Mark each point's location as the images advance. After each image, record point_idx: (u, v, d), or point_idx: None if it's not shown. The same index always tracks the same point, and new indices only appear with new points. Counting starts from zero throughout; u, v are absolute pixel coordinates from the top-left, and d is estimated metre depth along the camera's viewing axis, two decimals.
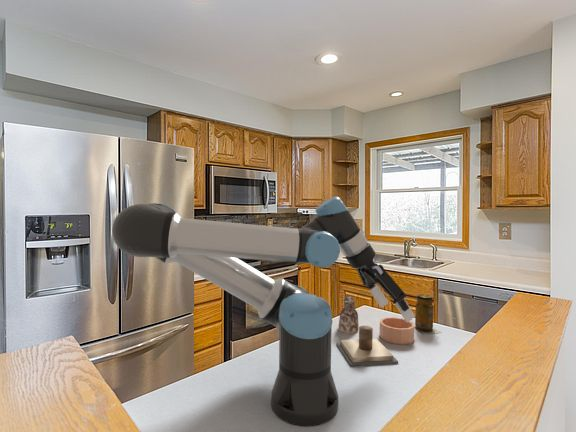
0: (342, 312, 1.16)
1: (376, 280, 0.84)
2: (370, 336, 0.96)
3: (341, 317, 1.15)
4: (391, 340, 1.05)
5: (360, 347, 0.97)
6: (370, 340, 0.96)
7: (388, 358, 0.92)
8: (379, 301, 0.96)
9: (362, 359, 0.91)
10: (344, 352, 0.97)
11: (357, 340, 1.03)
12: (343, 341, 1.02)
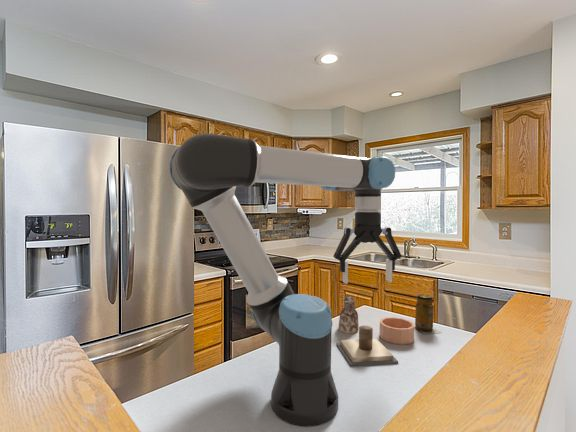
0: (342, 312, 1.16)
1: None
2: (370, 336, 0.96)
3: (341, 317, 1.15)
4: (391, 340, 1.05)
5: (360, 347, 0.97)
6: (370, 340, 0.96)
7: (388, 358, 0.92)
8: None
9: (362, 359, 0.91)
10: (344, 352, 0.97)
11: (357, 340, 1.03)
12: (343, 341, 1.02)
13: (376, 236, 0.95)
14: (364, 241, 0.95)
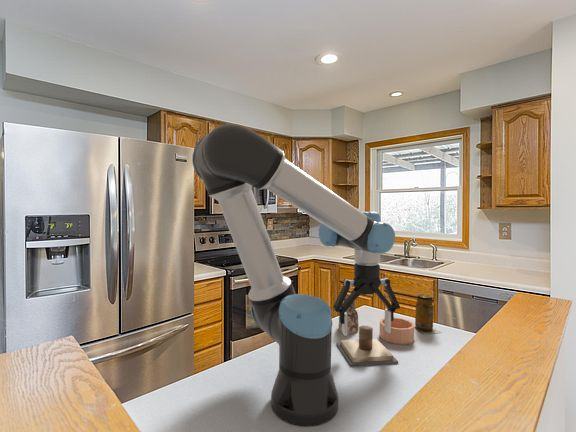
0: None
1: (380, 292, 0.96)
2: (370, 336, 0.96)
3: None
4: (391, 340, 1.05)
5: (360, 347, 0.97)
6: (370, 340, 0.96)
7: (388, 358, 0.92)
8: None
9: (362, 359, 0.91)
10: (344, 352, 0.97)
11: (357, 340, 1.03)
12: (343, 341, 1.02)
13: (375, 288, 0.96)
14: (363, 293, 0.96)
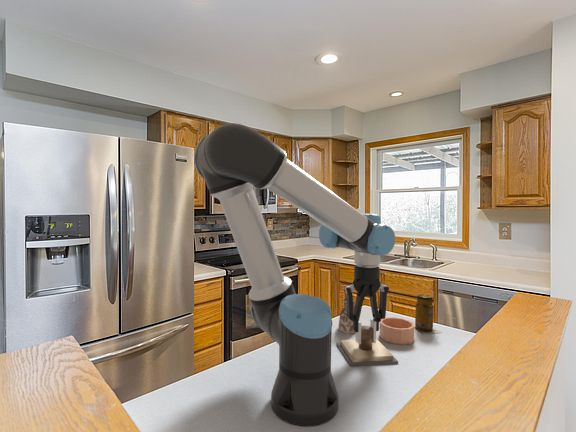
0: (342, 312, 1.16)
1: None
2: (370, 336, 0.96)
3: (341, 317, 1.15)
4: (391, 340, 1.05)
5: (360, 347, 0.97)
6: (370, 340, 0.96)
7: (388, 358, 0.92)
8: None
9: (362, 359, 0.91)
10: (344, 352, 0.97)
11: None
12: (343, 341, 1.02)
13: (375, 290, 0.96)
14: None
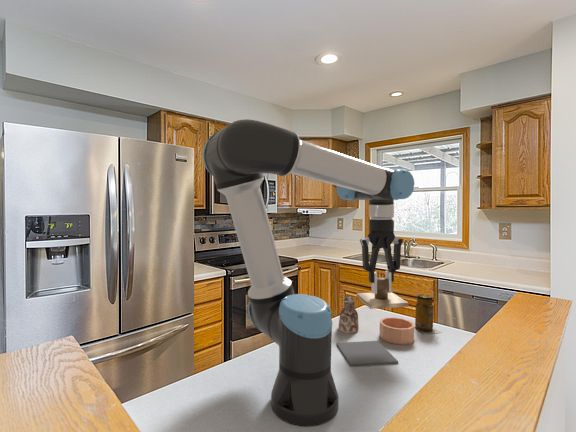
0: (342, 312, 1.16)
1: None
2: (385, 286, 1.00)
3: (341, 317, 1.15)
4: (391, 340, 1.05)
5: (376, 297, 1.01)
6: (386, 290, 1.00)
7: (403, 305, 0.97)
8: None
9: (379, 306, 0.96)
10: (344, 352, 0.97)
11: (372, 293, 1.07)
12: (359, 294, 1.06)
13: (390, 242, 1.00)
14: None
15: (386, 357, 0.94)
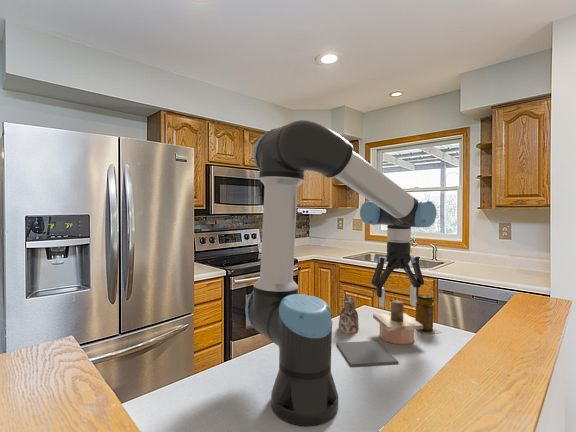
0: (342, 312, 1.16)
1: None
2: (401, 309, 1.08)
3: (341, 317, 1.15)
4: (391, 340, 1.05)
5: (392, 319, 1.09)
6: (402, 313, 1.08)
7: (418, 327, 1.04)
8: None
9: (396, 328, 1.03)
10: (344, 352, 0.97)
11: (388, 314, 1.15)
12: (376, 315, 1.14)
13: (406, 263, 1.07)
14: (395, 267, 1.08)
15: (386, 357, 0.94)
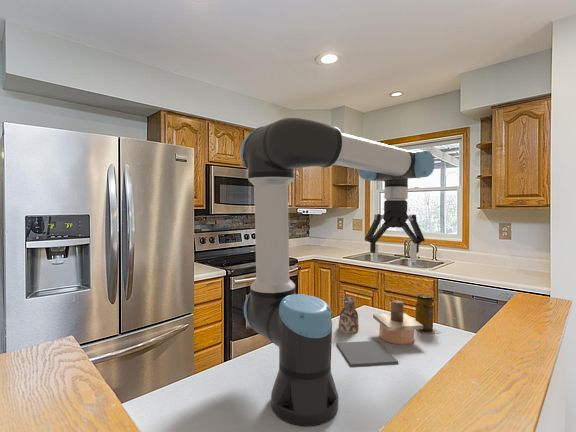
0: (342, 312, 1.16)
1: None
2: (401, 309, 1.08)
3: (341, 317, 1.15)
4: (391, 340, 1.05)
5: (392, 319, 1.09)
6: (402, 313, 1.08)
7: (418, 327, 1.04)
8: None
9: (396, 328, 1.03)
10: (344, 352, 0.97)
11: (388, 314, 1.15)
12: (376, 315, 1.14)
13: (403, 222, 1.08)
14: (392, 226, 1.08)
15: (386, 357, 0.94)
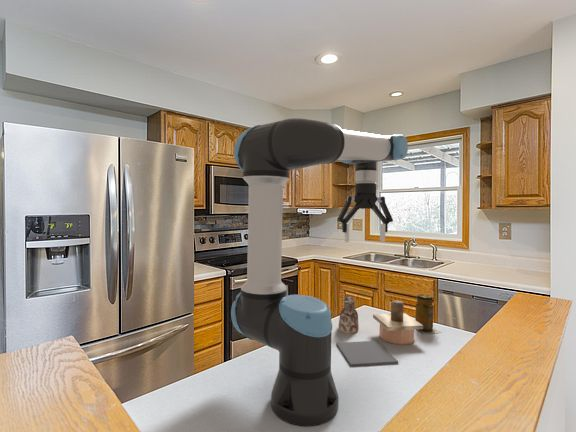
0: (342, 312, 1.16)
1: None
2: (401, 309, 1.08)
3: (341, 317, 1.15)
4: (391, 340, 1.05)
5: (392, 319, 1.09)
6: (402, 313, 1.08)
7: (418, 327, 1.04)
8: None
9: (396, 328, 1.03)
10: (344, 352, 0.97)
11: (388, 314, 1.15)
12: (376, 315, 1.14)
13: (372, 203, 1.15)
14: (362, 207, 1.16)
15: (386, 357, 0.94)
